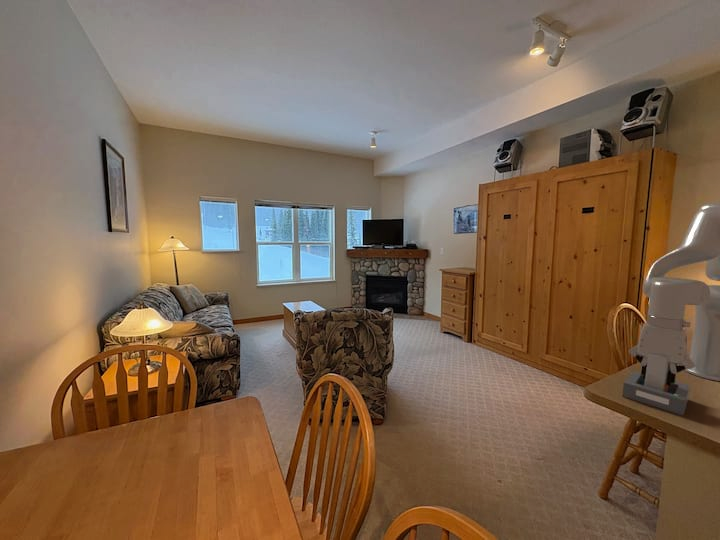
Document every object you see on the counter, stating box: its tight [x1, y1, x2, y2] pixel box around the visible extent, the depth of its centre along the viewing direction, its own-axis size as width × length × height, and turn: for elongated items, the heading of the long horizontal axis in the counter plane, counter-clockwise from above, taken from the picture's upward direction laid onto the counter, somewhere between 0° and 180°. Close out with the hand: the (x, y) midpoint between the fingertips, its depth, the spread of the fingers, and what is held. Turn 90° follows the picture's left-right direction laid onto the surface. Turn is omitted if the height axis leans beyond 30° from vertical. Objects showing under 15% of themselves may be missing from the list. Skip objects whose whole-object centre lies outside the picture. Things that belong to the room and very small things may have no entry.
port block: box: [621, 370, 691, 416], centre depth 93 cm, size 13×13×5 cm
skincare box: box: [644, 353, 670, 392], centre depth 93 cm, size 6×4×12 cm
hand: (657, 380), depth 93 cm, fingers closed on skincare box, 4 cm apart
